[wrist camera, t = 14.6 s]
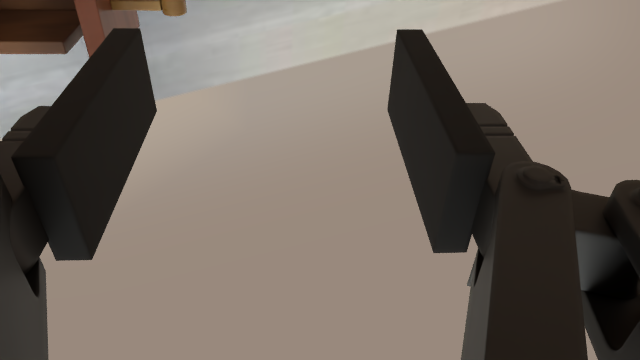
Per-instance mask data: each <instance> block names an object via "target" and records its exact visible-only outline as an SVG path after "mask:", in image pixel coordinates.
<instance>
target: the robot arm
mask: <svg viewBox="0 0 640 360" xmlns="http://www.w3.org/2000/svg"><path fill="white" fill-rule="evenodd" d="M395 44H396V45H395V52H394V61H393V68H392V77H391V85H390V94H389V101H388V113H389V116H390V119H391V122H392V126H393V129H394V132H395V135H396V138H397V141H398V144H399V147H400V150H401V153H402V156H403V159H404V163H405V166H406V169H407V172H408V175H409V178H410V181H411V184H412V188H413V191H414V194H415V197H416V200H417V203H418V206H419V209H420V212H421V215H422V219H423V222H424V225H425V227H426V231H427V234H428V237H429V240H430V243H431V246H432V250H433V252H434V253H455V252H456V253H457V252H467V249H468V245H469V242H470V239H471V235H472V234H473V237H474V239H475V241H476V243H477V246H478V251H477V254H476V258H475V261H474V264H473V268H472V270H471V274H470V277H469V280H468V283H467V286H471V289H470V296H469V303H468V311H467V319H466V325H465V326H466V327H465V333H464V340H463V349H462V355H461V360H588V357H587V347H586V337H585V328H586V330H587V333H588V336H589V338H590V340H591V343H592V346H593V348H594V351H595V353H596V356H597V358H598V360H640V180H625V181H622V182H620V183H618V184H617V185H616V186H615V188H614V190H613V192H612V194H611V196H610V197H605V196H599V195H594V194H589V193H583V192H578V191H575V190H571V187H570V184H569V182H568V179H567V178H566V177H564V176H563V175H562V174H561V173H560V172H559V171H557V170H555V169H553V168H551V167H549V166H547V165H543V164H540V163H537V162H533V161H532V160H531V158H530V157H529V155H528V154H527V152H526V151H525V149H524V148H523V147H522V145H521V143H520V142H519V141H518V139H517V138H516V136H514V133H513V132H512V131H511V129H510V127H507V123H506V122H505V120H504V119H503V117H502V116H501V114H500V113H499V112H497V111H496V110H494V109H493V108H491V107H490V106H488V105H487V104H486V103H465V101H464V99H463V97H462V96H461V94H460V92H459V91H458V89H457V87H456V86H455V84H454V82H453V81H452V79H451V78H450V76H449V74H448V72H447V71H446V69H445V67H444V65H443V64H442V62H441V60H440V59H439V57H438V56H437V54H436V52H435V50H434V49H433V47H432V45H431V44H430V42H429V40H428V39H427V37H426V35H425V34H424V32H423V30H397V35H396V43H395ZM156 112H157V109H156V104H155V100H154V95H153V90H152V85H151V80H150V75H149V70H148V65H147V60H146V56H145V51H144V46H143V41H142V36H141V31H140V28H113V29H112V31H111V32H110V33H109V34H108V36H107V37H106V38H105V39H104V41H103V42H102V43H101V44H100V46H99V47H98V48H97V49H96V51H95V52H94V53H93V54H92V56H91V57H90V58H89V59H88V61H87V62H86V63H85V65H84V66H83V67H82V68H81V70H80V71H79V72H78V73H77V75H76V76H75V77H74V78H73V80H72V81H71V82H70V83H69V85H68V86H67V87H66V88H65V90H64V91H63V92H62V93H61V95H60V96H59V97H58V98H57V100H56V101H55V102H54V103H53V105H52V106H38V107H37V108H35V109H33V110H32V111H30V112H28V113H27V114H25V115H23V116H22V117H20V119H19V120H18V121H17V122H16V123H15V124H14V126H13V127H12V128H11V131H8V132H7V134H6V135H5V136H4V137H3V138H2V141H0V360H48V334H47V304H46V303H47V302H46V301H47V300H46V272H45V269H44V266H43V264H42V262H41V259H40V258H39V256H40V255H41V253H42V251H43V249H44V247H45V246H46V244H47V242H48V243H49V245H50V248H51V250H52V252H53V254H54V257H55V259H56V261H59V260H92V258H93V256H94V254H95V251H96V249H97V247H98V244H99V242H100V240H101V237H102V235H103V233H104V231H105V228H106V226H107V224H108V221H109V219H110V217H111V215H112V212H113V210H114V208H115V205H116V203H117V201H118V199H119V196H120V194H121V192H122V189H123V187H124V185H125V183H126V180H127V178H128V176H129V174H130V171H131V169H132V167H133V164H134V162H135V160H136V157H137V155H138V153H139V151H140V148H141V146H142V144H143V141H144V139H145V137H146V135H147V132H148V130H149V128H150V125H151V123H152V121H153V119H154V116H155V114H156Z"/></svg>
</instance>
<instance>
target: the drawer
mask: <svg viewBox="0 0 640 360" xmlns="http://www.w3.org/2000/svg"><path fill="white" fill-rule="evenodd" d="M137 10H142V11H161V10H163V13H164V15H167V16H180V15H183V14H185V13H186V12H187V8H186V1H185V0H0V54H67V53H68V52H69V50H70V49H71V48H72V47H73V46H74V45H75V44H76V43H77V42H78V40H79V39H80V38H81V37H82V36H84V40H85V43H86V47H87V50H88V54H89V58H90V57H91V56H92V54H93V53H94V52H95V51H96V49H97V48H98V47H99V46H100V44H101V43H102V42H103V41H104V39H105V38H106V37H107V36H108V34H109V33H110V32H111V31H112V29H113V28H139V26H140V25H139V20H138V15H137Z"/></svg>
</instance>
